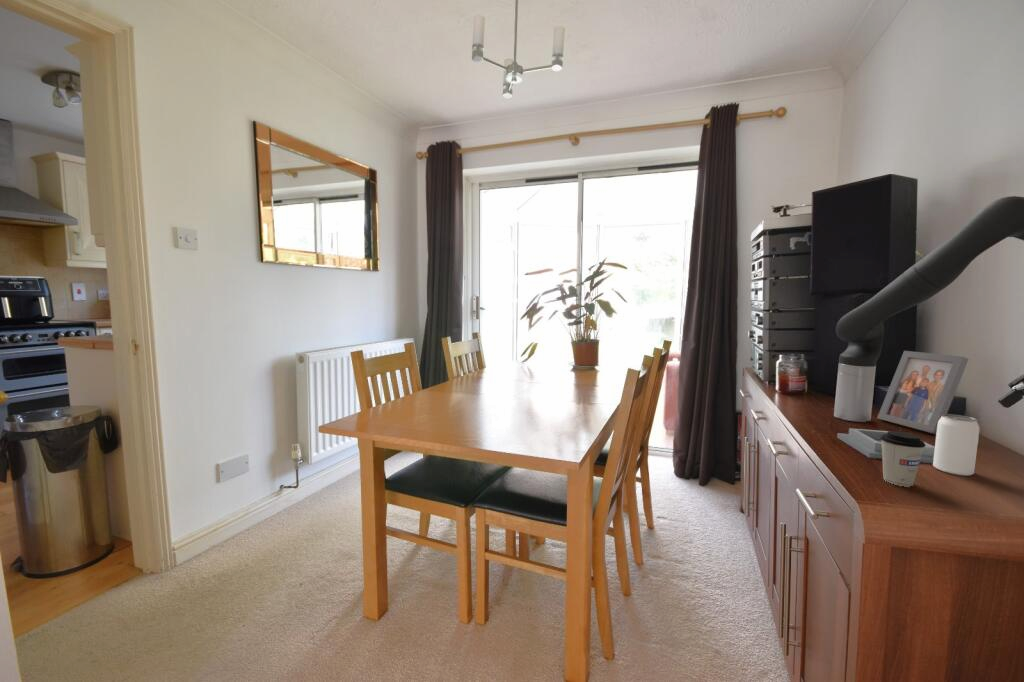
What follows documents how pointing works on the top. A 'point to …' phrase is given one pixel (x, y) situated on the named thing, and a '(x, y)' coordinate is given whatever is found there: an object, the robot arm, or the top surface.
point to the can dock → (877, 443)
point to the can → (956, 444)
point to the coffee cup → (901, 457)
